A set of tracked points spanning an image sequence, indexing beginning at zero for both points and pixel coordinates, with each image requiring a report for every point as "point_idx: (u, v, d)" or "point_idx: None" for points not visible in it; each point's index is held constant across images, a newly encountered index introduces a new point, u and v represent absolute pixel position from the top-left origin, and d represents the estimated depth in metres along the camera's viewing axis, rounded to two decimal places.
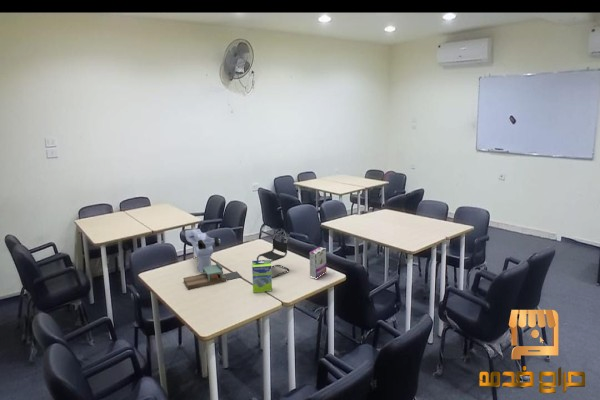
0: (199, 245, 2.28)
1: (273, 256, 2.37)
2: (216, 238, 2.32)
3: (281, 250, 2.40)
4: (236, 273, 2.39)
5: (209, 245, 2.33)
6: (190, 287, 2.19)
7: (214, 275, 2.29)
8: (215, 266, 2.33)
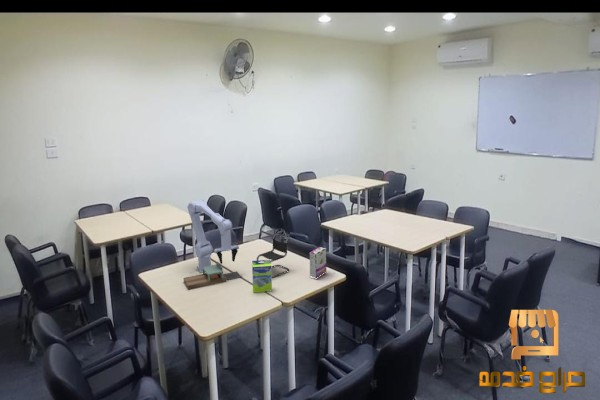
0: None
1: (273, 256, 2.37)
2: (235, 252, 2.32)
3: (281, 250, 2.40)
4: (236, 273, 2.39)
5: None
6: (190, 287, 2.19)
7: (214, 275, 2.29)
8: (215, 266, 2.33)
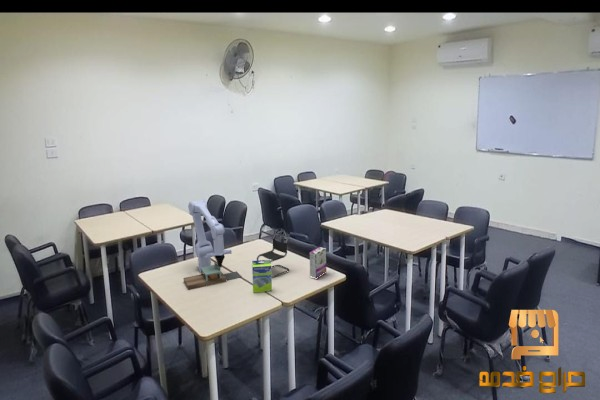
0: None
1: (273, 256, 2.37)
2: (222, 258, 2.29)
3: (281, 250, 2.40)
4: (236, 273, 2.39)
5: None
6: (190, 287, 2.19)
7: (214, 275, 2.29)
8: (213, 266, 2.33)
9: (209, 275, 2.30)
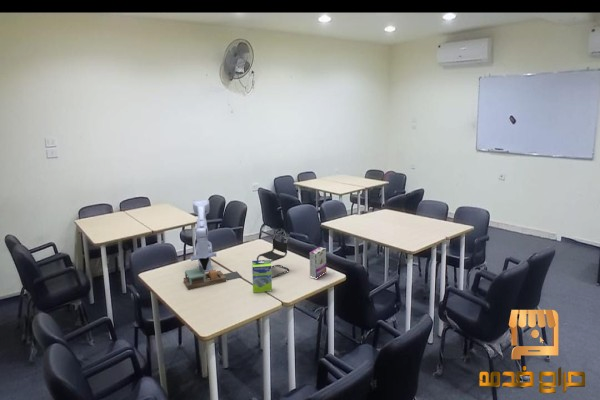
0: None
1: (273, 256, 2.37)
2: (206, 261, 2.24)
3: (281, 250, 2.40)
4: (236, 273, 2.39)
5: None
6: (190, 287, 2.19)
7: (214, 275, 2.29)
8: (198, 269, 2.29)
9: (209, 275, 2.30)
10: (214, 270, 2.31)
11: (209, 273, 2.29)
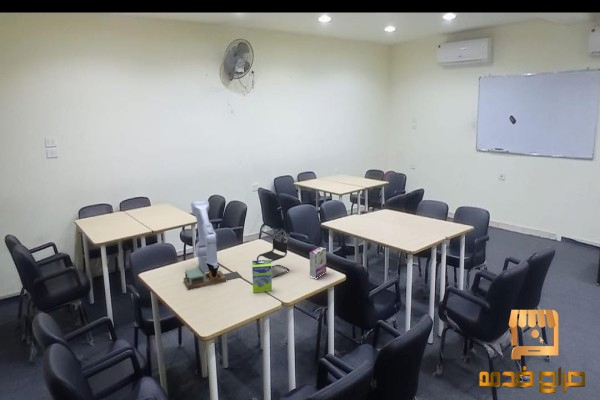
0: None
1: (273, 256, 2.37)
2: (210, 268, 2.25)
3: (281, 250, 2.40)
4: (236, 273, 2.39)
5: None
6: (190, 287, 2.19)
7: None
8: (198, 269, 2.29)
9: (209, 275, 2.30)
10: None
11: (209, 273, 2.29)
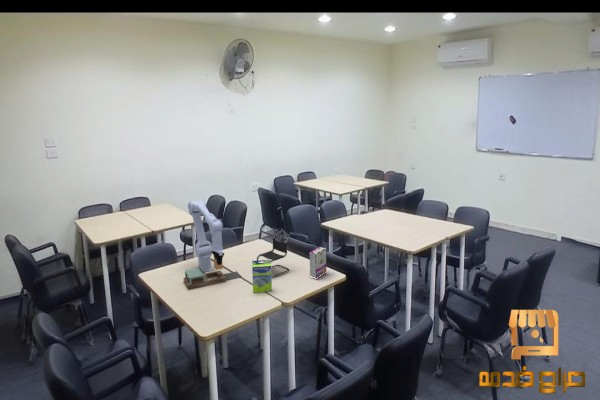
0: None
1: (273, 256, 2.37)
2: (215, 256, 2.25)
3: (281, 250, 2.40)
4: (236, 273, 2.39)
5: None
6: (190, 287, 2.19)
7: None
8: (198, 269, 2.29)
9: (214, 263, 2.30)
10: None
11: (214, 261, 2.29)
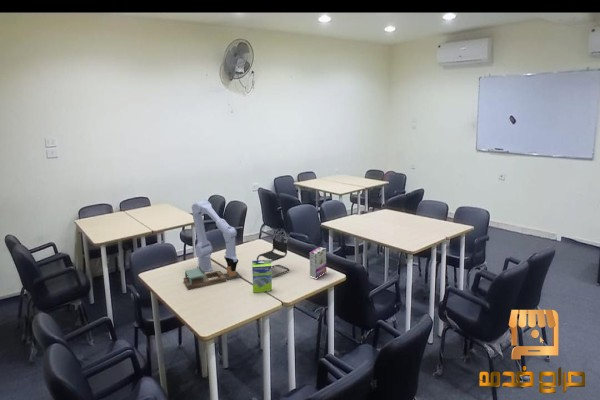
0: None
1: (273, 256, 2.37)
2: (229, 263, 2.30)
3: (281, 250, 2.40)
4: (236, 273, 2.39)
5: None
6: (190, 287, 2.19)
7: None
8: (198, 269, 2.29)
9: (227, 271, 2.35)
10: None
11: (227, 269, 2.34)
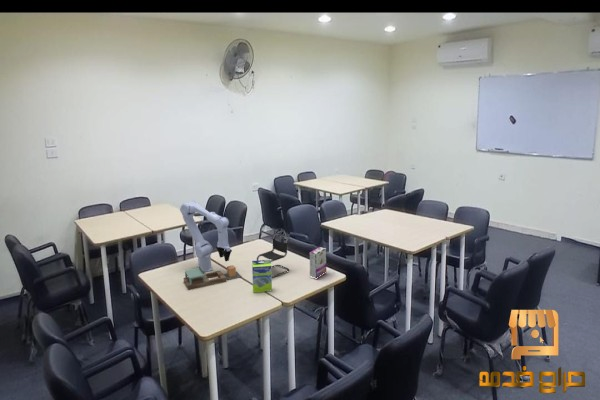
0: None
1: (273, 256, 2.37)
2: (223, 253, 2.32)
3: (281, 250, 2.40)
4: (236, 273, 2.39)
5: None
6: (190, 287, 2.19)
7: (232, 270, 2.34)
8: (198, 269, 2.29)
9: (227, 271, 2.35)
10: (232, 266, 2.36)
11: (227, 269, 2.34)
